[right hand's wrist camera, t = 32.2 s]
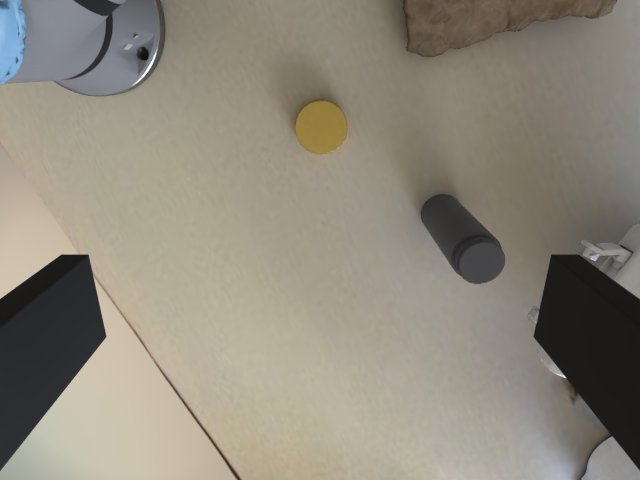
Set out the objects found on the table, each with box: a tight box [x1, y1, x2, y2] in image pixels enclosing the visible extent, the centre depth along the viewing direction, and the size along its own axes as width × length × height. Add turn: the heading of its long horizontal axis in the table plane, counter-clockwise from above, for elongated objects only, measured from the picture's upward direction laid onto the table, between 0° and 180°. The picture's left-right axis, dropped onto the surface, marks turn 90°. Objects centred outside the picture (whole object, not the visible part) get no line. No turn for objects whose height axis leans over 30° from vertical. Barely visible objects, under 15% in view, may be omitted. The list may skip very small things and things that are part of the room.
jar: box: [421, 194, 505, 284], centre depth 47 cm, size 5×5×15 cm
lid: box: [295, 100, 347, 154], centre depth 50 cm, size 6×6×2 cm
